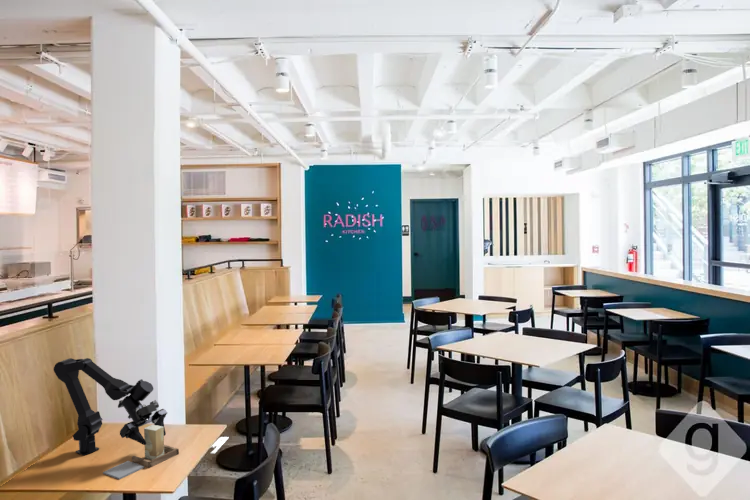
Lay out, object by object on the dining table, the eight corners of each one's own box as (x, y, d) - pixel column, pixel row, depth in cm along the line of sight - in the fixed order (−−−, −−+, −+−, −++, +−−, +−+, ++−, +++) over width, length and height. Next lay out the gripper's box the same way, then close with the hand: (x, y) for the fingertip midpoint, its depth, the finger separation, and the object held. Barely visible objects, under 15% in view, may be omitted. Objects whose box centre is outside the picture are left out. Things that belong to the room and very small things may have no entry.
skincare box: (144, 458, 196) (142, 428, 196) (153, 454, 200) (151, 424, 200) (156, 461, 194) (155, 430, 193) (165, 456, 198) (163, 426, 197)
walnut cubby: (132, 461, 194) (131, 456, 194) (161, 448, 205) (160, 443, 205) (149, 467, 188) (149, 462, 188) (178, 453, 200) (178, 448, 199)
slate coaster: (103, 473, 185) (103, 471, 185) (128, 462, 193) (128, 460, 193) (119, 479, 180) (119, 477, 180) (144, 467, 188) (144, 466, 188)
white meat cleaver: (202, 454, 199) (202, 452, 199) (217, 439, 214) (217, 436, 214) (214, 454, 199) (214, 451, 199) (229, 439, 214) (228, 436, 213)
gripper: (122, 404, 190) (144, 436, 185) (163, 389, 206) (183, 419, 202) (110, 421, 193) (131, 454, 189) (150, 405, 210) (170, 435, 206)
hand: (155, 439), depth 196 cm, fingers open, 9 cm apart
